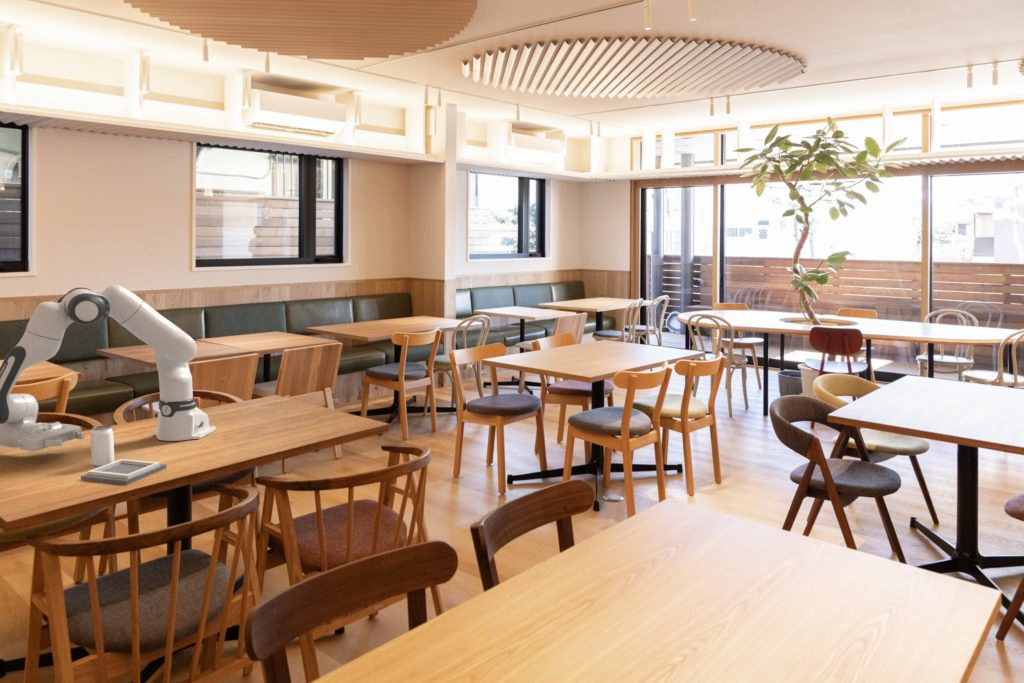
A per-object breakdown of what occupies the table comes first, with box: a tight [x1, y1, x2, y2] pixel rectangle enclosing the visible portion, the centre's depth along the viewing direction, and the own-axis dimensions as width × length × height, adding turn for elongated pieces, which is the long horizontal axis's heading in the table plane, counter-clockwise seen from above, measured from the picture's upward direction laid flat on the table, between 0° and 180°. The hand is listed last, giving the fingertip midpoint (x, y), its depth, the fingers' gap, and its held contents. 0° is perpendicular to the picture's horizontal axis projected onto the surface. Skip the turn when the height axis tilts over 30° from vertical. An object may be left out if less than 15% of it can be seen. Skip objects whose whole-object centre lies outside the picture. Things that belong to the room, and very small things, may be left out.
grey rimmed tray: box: [80, 458, 167, 485], centre depth 246 cm, size 18×16×2 cm
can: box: [90, 425, 115, 467], centre depth 255 cm, size 6×6×12 cm
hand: (71, 439), depth 258 cm, fingers open, 8 cm apart
